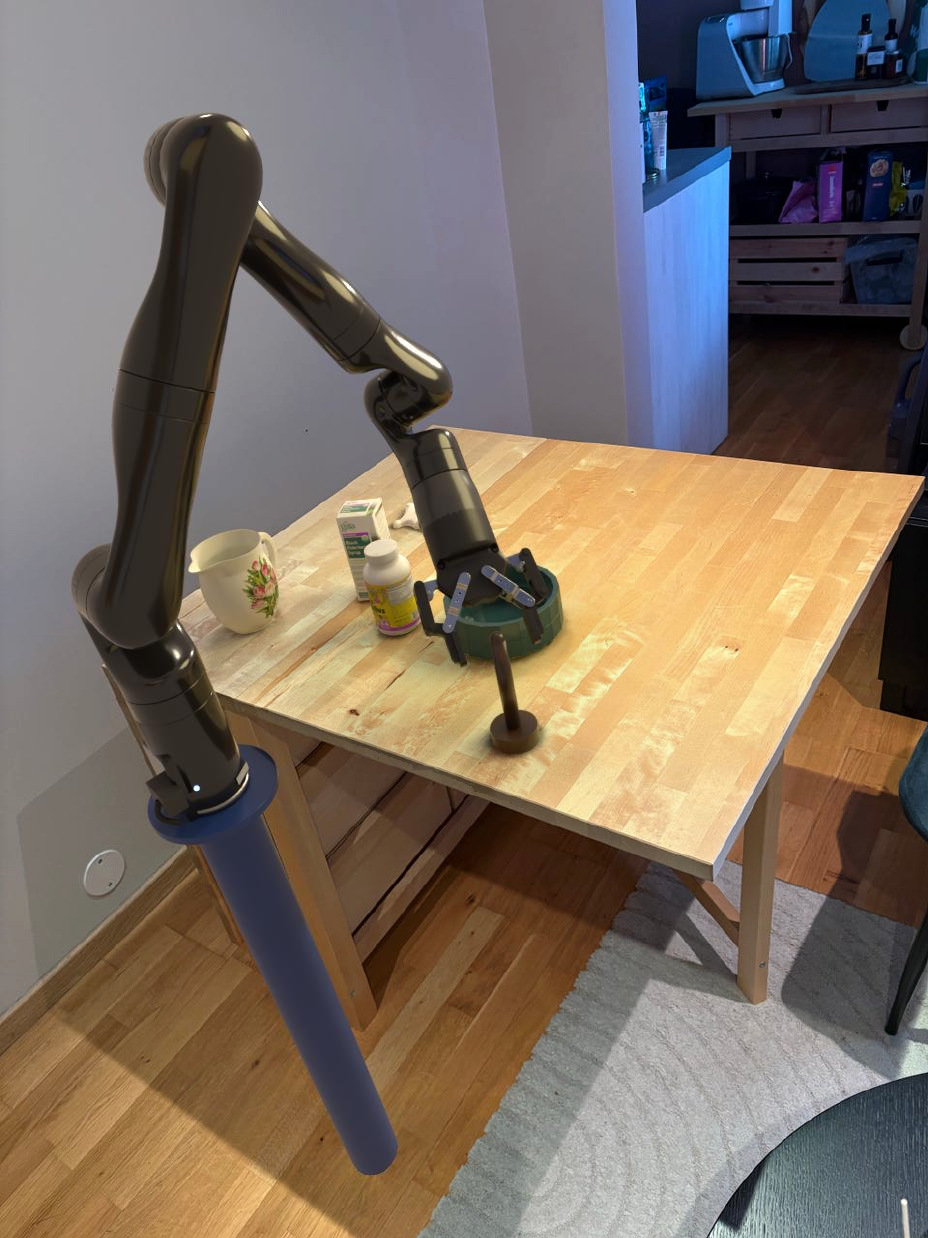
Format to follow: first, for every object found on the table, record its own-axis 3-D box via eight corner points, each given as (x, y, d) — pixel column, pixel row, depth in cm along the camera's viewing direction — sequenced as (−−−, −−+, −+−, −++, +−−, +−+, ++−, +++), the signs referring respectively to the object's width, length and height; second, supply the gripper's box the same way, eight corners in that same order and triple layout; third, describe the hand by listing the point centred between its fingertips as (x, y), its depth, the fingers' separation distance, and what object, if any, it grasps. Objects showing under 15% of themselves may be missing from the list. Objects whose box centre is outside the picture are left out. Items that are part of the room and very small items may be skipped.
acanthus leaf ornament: (408, 509, 163) (406, 499, 162) (443, 510, 160) (441, 500, 159) (390, 529, 157) (387, 520, 156) (425, 531, 154) (423, 521, 153)
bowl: (505, 678, 117) (498, 640, 114) (428, 637, 128) (420, 602, 125) (587, 619, 125) (583, 582, 122) (508, 586, 136) (502, 551, 132)
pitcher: (315, 587, 145) (291, 510, 138) (254, 656, 132) (224, 574, 124) (258, 583, 149) (232, 508, 142) (193, 649, 136) (160, 570, 129)
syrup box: (357, 602, 139) (333, 518, 131) (367, 581, 144) (344, 498, 136) (393, 600, 138) (371, 514, 130) (402, 579, 143) (381, 495, 135)
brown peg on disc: (515, 761, 104) (495, 654, 96) (482, 741, 108) (460, 636, 100) (549, 734, 107) (532, 628, 99) (516, 716, 111) (497, 612, 102)
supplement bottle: (371, 621, 134) (350, 545, 127) (413, 605, 136) (394, 529, 129) (386, 643, 129) (365, 565, 122) (429, 626, 130) (411, 548, 123)
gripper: (393, 527, 99) (441, 668, 96) (516, 490, 101) (568, 626, 98) (392, 548, 106) (438, 680, 103) (507, 513, 108) (555, 641, 105)
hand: (501, 654), depth 100 cm, fingers open, 8 cm apart
